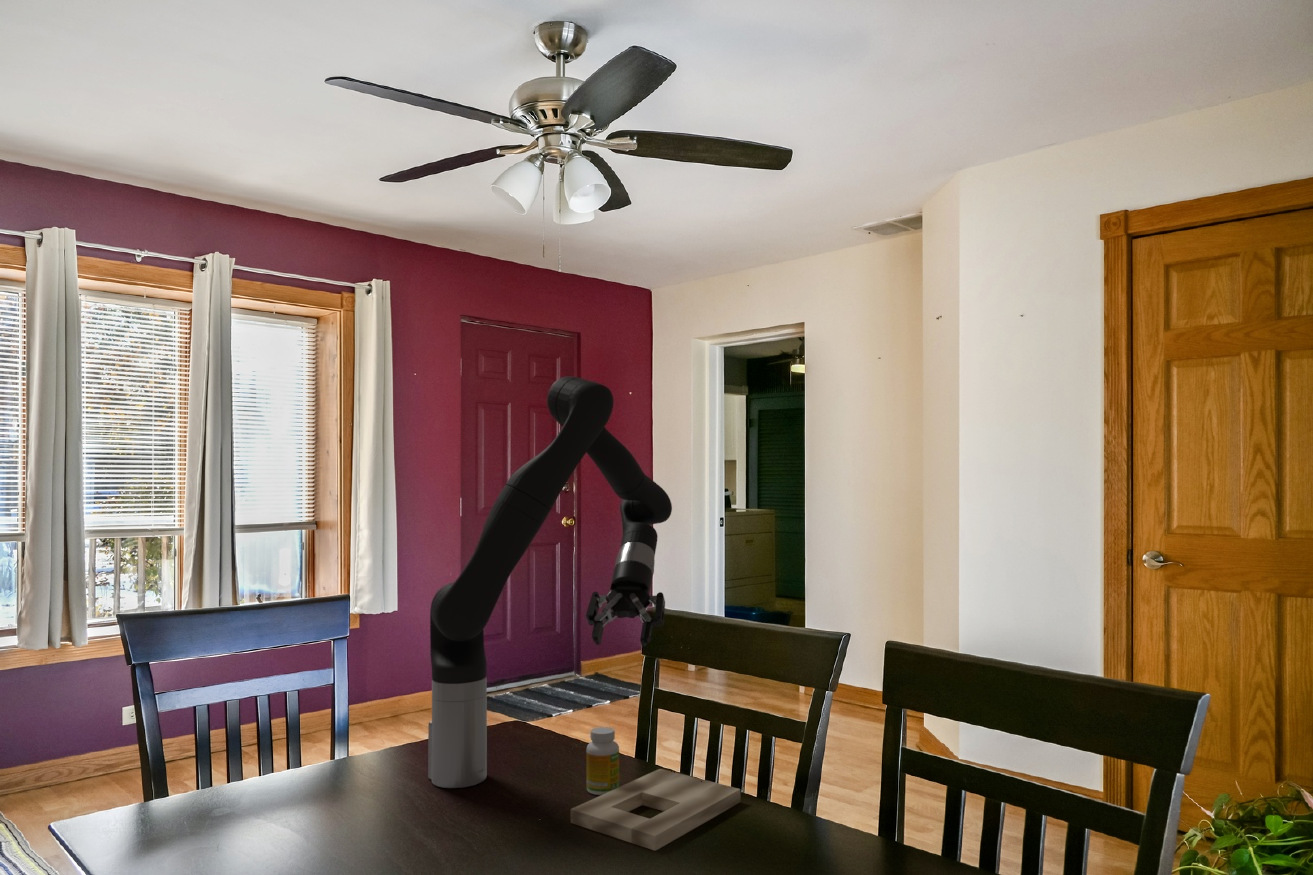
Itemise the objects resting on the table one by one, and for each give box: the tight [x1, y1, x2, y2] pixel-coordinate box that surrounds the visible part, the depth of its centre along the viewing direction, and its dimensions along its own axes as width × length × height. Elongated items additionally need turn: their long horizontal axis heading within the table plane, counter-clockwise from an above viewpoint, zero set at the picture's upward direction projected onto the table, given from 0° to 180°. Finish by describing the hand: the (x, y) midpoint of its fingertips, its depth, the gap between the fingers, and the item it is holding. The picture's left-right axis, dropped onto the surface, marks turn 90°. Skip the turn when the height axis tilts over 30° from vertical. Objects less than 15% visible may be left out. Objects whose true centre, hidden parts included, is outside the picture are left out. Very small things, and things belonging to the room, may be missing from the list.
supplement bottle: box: [586, 726, 620, 796], centre depth 141 cm, size 5×5×10 cm
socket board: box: [570, 768, 742, 851], centre depth 131 cm, size 16×22×2 cm
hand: (619, 642), depth 153 cm, fingers open, 8 cm apart
